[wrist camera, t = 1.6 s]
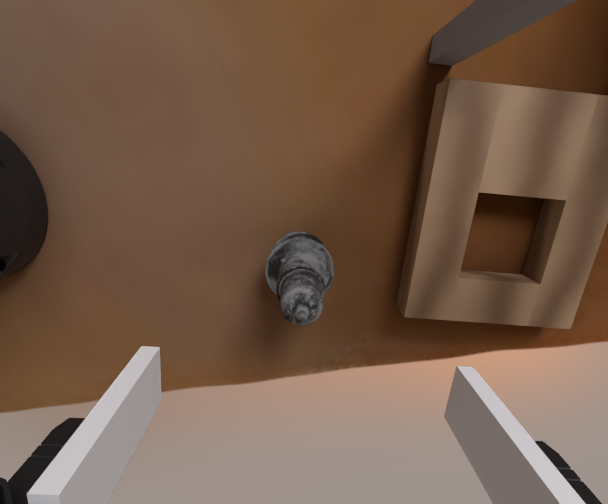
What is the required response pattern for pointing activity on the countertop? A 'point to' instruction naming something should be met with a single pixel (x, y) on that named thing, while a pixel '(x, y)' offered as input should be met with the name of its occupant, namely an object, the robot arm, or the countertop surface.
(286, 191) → the countertop surface
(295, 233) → the grey chess piece
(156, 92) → the countertop surface
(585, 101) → the socket
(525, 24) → the grey arch frame
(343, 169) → the countertop surface
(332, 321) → the countertop surface
